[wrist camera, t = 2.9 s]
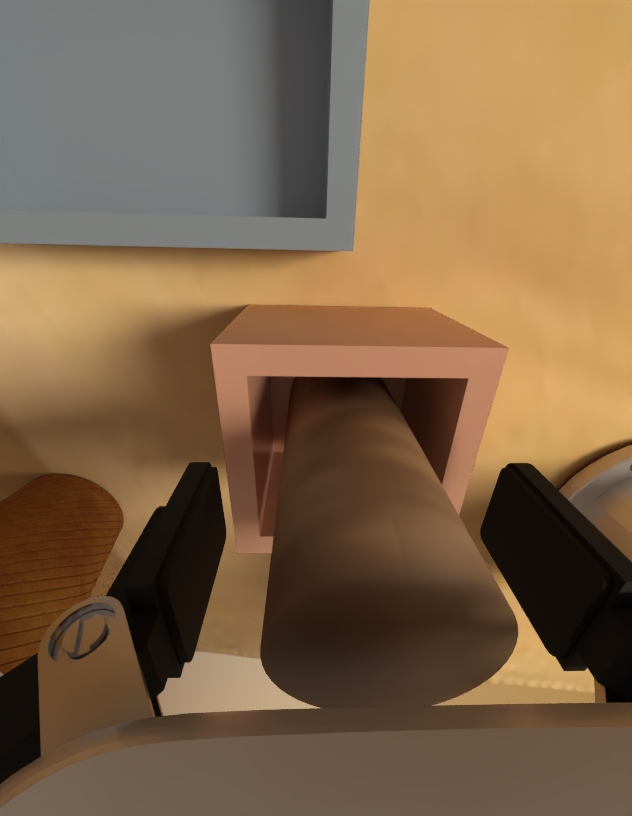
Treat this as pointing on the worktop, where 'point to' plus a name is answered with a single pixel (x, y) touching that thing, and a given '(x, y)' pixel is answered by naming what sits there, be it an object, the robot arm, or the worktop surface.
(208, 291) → the worktop surface
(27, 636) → the disposable coffee cup
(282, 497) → the peg
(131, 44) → the tray
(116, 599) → the robot arm
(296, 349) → the terracotta open box
